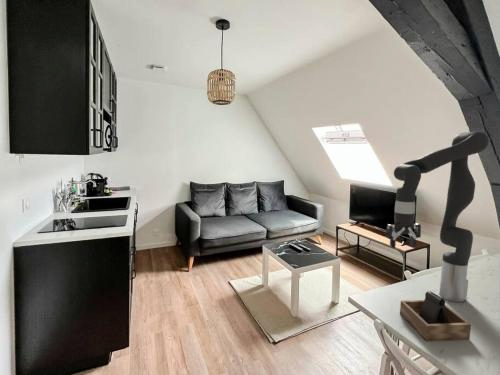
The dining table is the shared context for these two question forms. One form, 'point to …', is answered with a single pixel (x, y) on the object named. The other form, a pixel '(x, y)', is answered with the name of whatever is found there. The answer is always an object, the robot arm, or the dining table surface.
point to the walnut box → (435, 332)
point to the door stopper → (433, 309)
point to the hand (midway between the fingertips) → (402, 247)
